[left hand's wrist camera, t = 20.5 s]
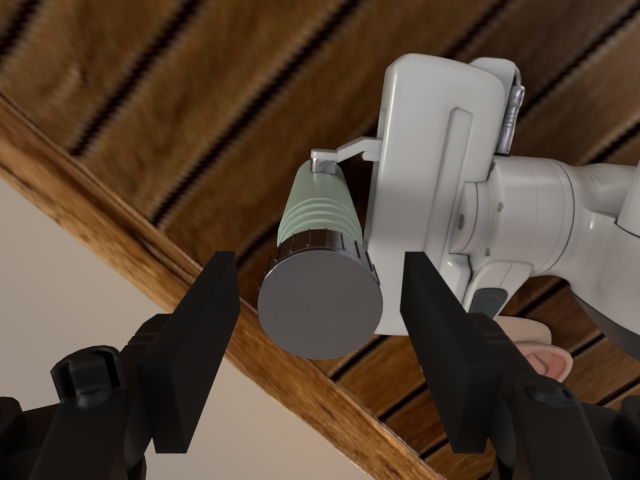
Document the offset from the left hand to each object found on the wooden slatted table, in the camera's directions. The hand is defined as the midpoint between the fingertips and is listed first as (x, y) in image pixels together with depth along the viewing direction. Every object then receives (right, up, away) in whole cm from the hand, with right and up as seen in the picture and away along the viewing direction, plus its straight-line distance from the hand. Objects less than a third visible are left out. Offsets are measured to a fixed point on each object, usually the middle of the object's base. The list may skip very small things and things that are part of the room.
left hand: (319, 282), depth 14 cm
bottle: (0, +7, +18) cm, 20 cm away
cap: (0, -1, -2) cm, 2 cm away
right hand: (-1, +5, +12) cm, 13 cm away
